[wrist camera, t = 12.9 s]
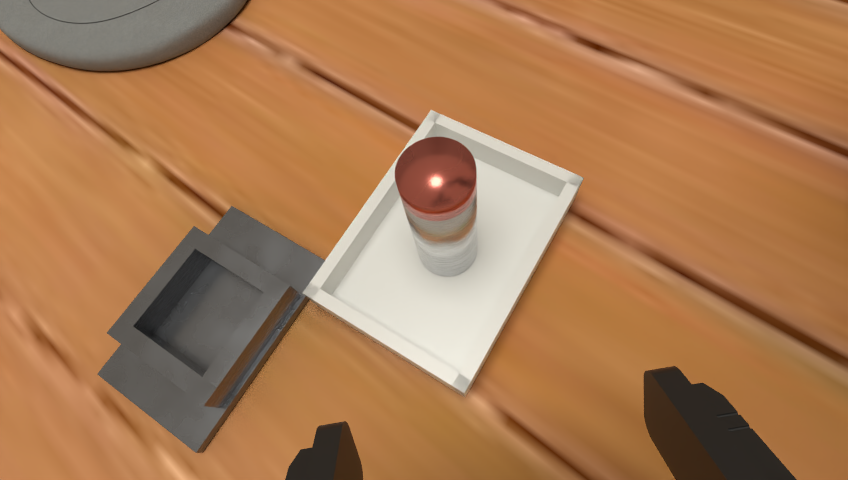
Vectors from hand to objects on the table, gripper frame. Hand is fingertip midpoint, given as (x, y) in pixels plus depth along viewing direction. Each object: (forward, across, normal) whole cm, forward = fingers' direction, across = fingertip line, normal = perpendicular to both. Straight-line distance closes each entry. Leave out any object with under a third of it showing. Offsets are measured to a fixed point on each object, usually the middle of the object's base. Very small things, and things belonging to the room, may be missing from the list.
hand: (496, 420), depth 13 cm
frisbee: (+44, +27, -18) cm, 54 cm away
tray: (+20, 0, +4) cm, 21 cm away
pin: (+20, 0, +4) cm, 20 cm away
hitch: (+19, +17, +6) cm, 26 cm away
